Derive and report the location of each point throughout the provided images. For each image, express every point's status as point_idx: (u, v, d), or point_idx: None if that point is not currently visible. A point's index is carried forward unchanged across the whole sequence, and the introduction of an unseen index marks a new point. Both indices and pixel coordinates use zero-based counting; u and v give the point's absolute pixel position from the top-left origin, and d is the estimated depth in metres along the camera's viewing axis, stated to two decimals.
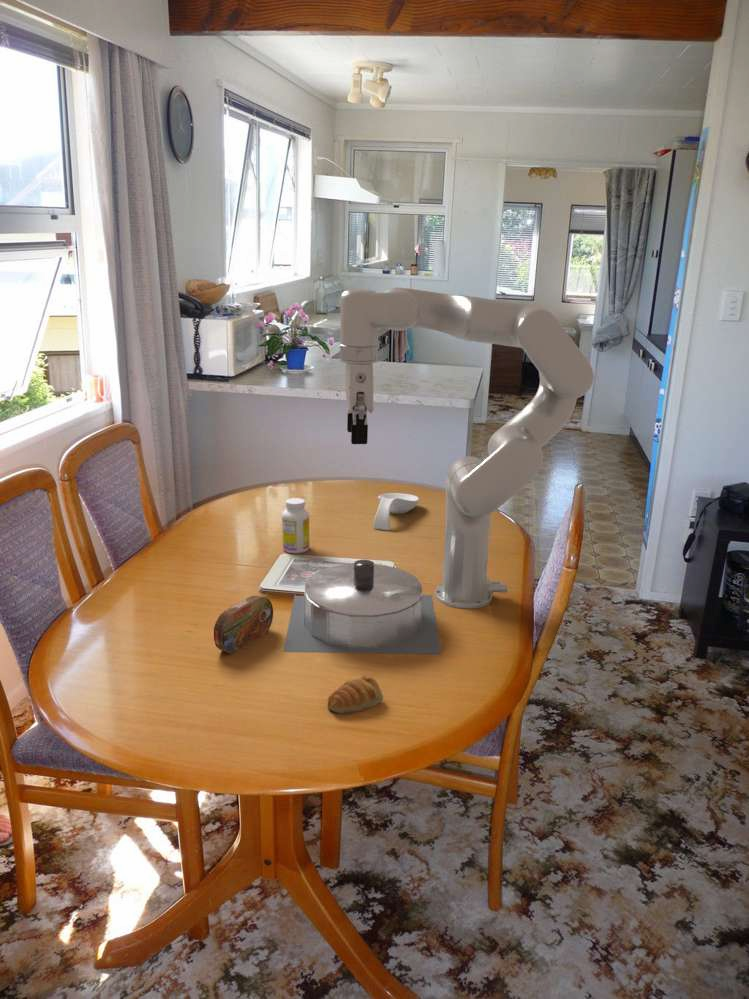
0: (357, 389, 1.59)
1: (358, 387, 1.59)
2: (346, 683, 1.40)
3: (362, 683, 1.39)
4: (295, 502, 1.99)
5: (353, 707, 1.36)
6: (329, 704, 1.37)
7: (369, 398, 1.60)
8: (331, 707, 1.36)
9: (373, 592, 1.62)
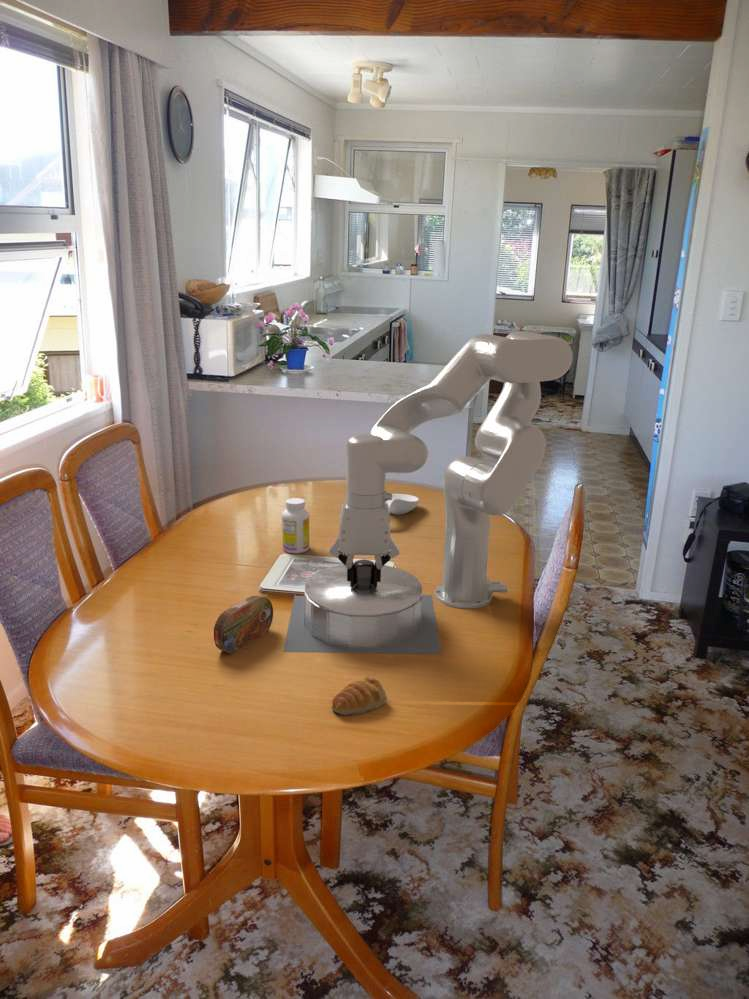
0: None
1: None
2: (350, 685, 1.40)
3: (366, 684, 1.39)
4: (295, 502, 1.99)
5: (358, 709, 1.36)
6: (334, 706, 1.36)
7: None
8: (336, 709, 1.36)
9: (373, 592, 1.62)
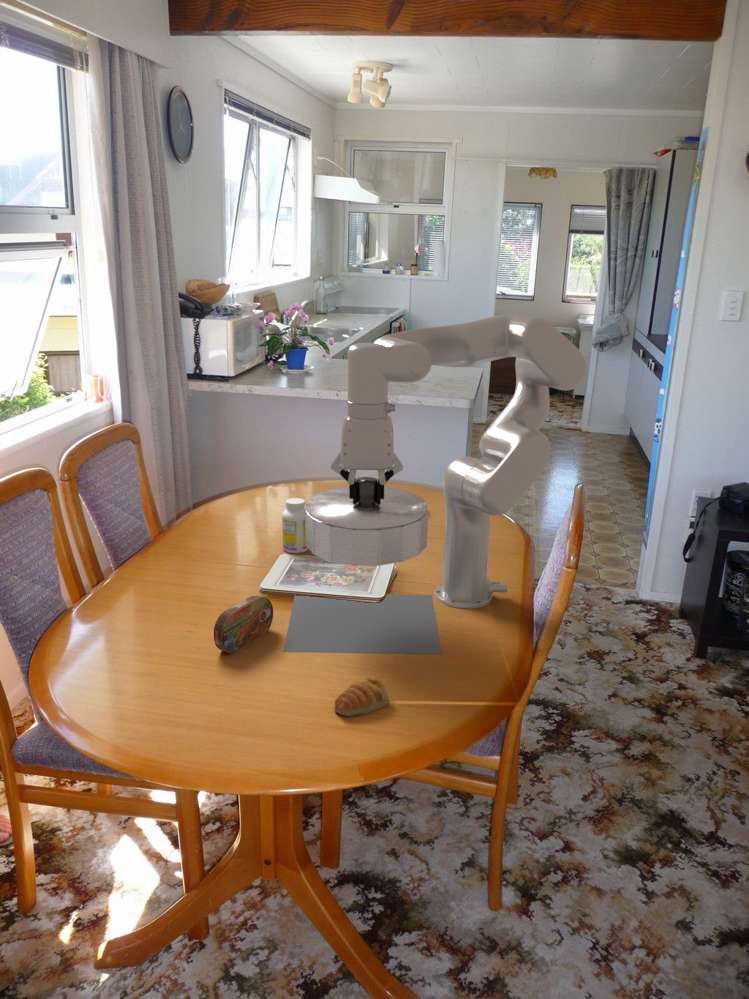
0: None
1: (393, 440, 1.55)
2: (352, 686, 1.39)
3: (368, 685, 1.38)
4: (295, 502, 1.99)
5: (360, 710, 1.35)
6: (336, 707, 1.36)
7: None
8: (338, 710, 1.35)
9: (377, 509, 1.57)
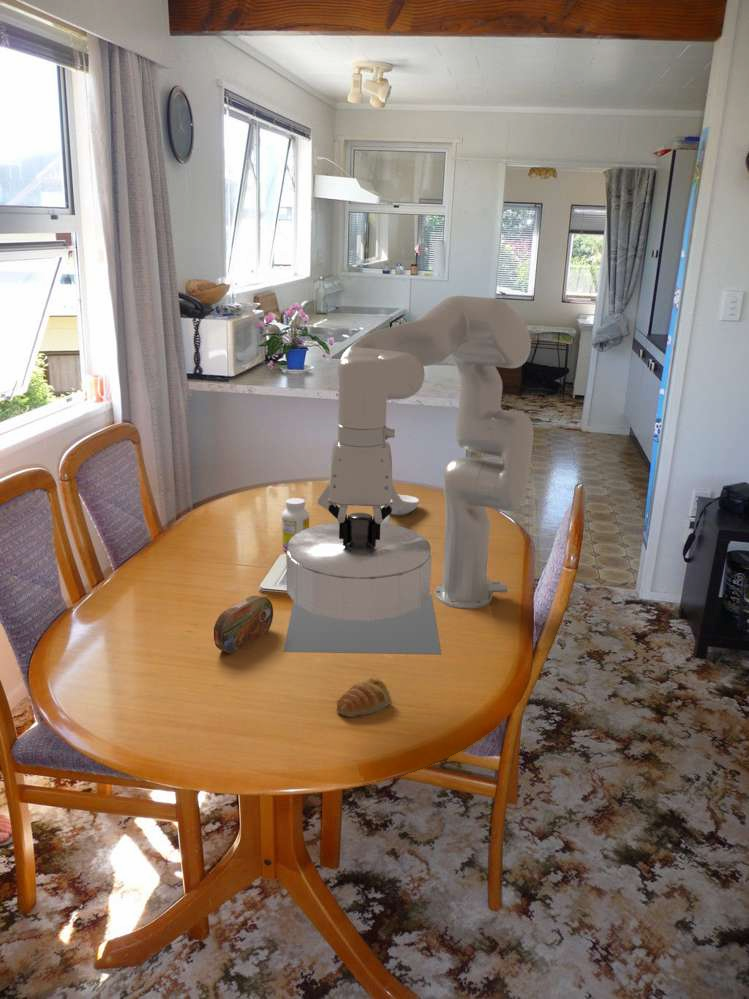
0: None
1: (391, 472, 1.31)
2: (354, 686, 1.39)
3: (370, 686, 1.38)
4: (295, 502, 1.99)
5: (363, 711, 1.35)
6: (338, 708, 1.36)
7: None
8: (341, 711, 1.35)
9: (371, 551, 1.33)
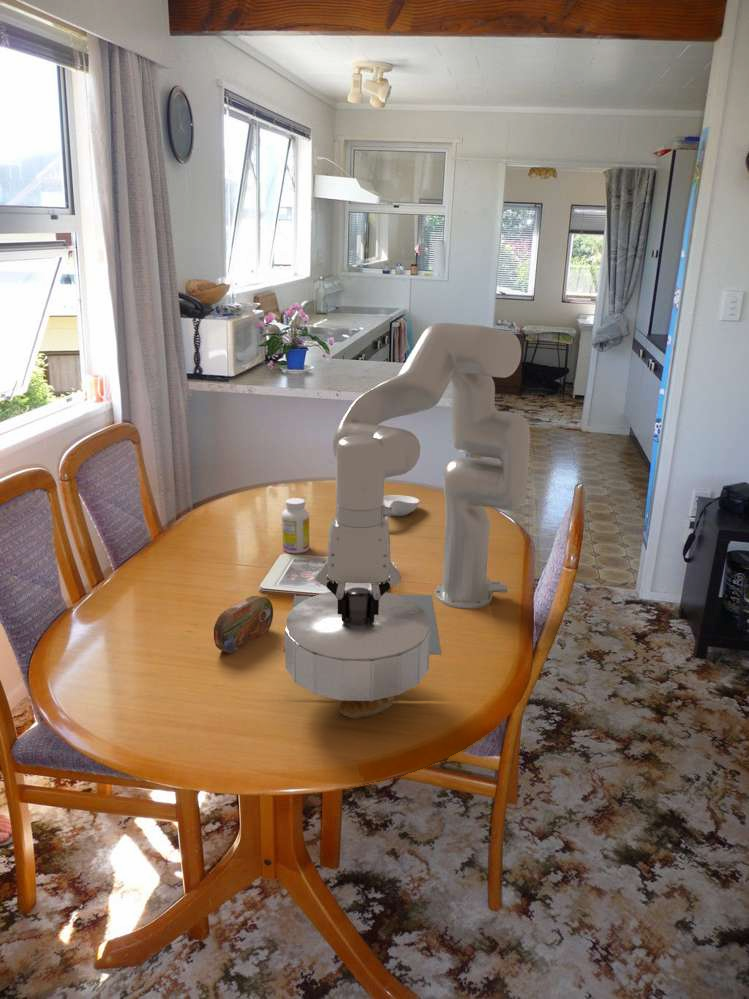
0: None
1: None
2: None
3: None
4: (295, 502, 1.99)
5: (366, 712, 1.35)
6: (342, 710, 1.35)
7: None
8: (344, 713, 1.35)
9: (370, 628, 1.32)
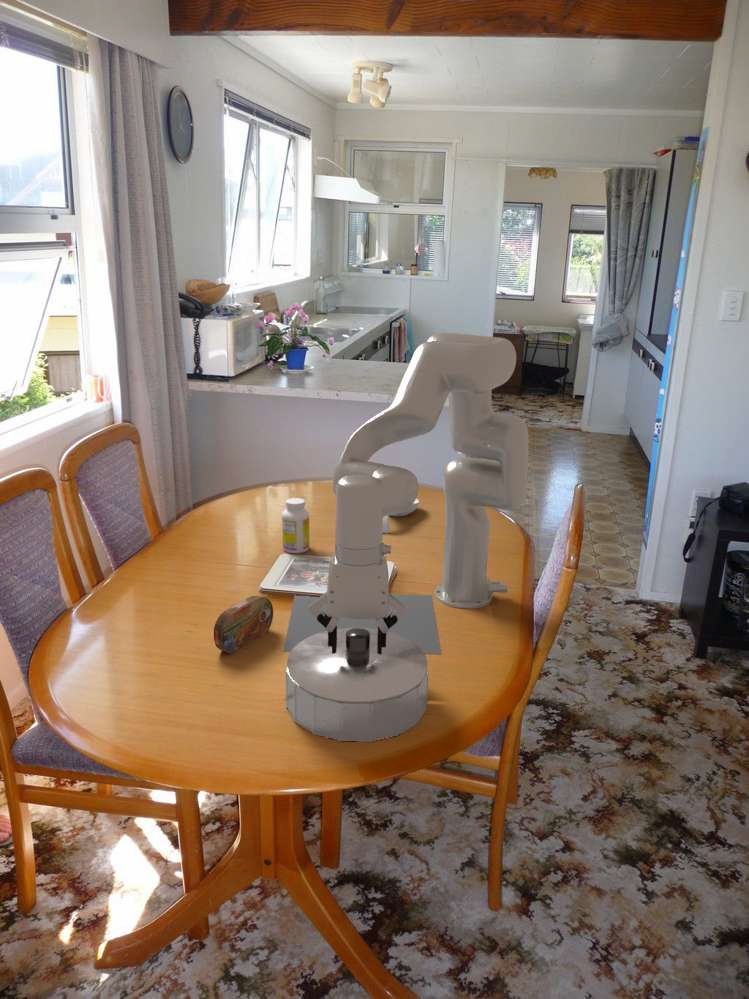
0: None
1: (388, 586, 1.32)
2: None
3: None
4: (295, 502, 1.99)
5: None
6: None
7: None
8: None
9: (369, 669, 1.35)
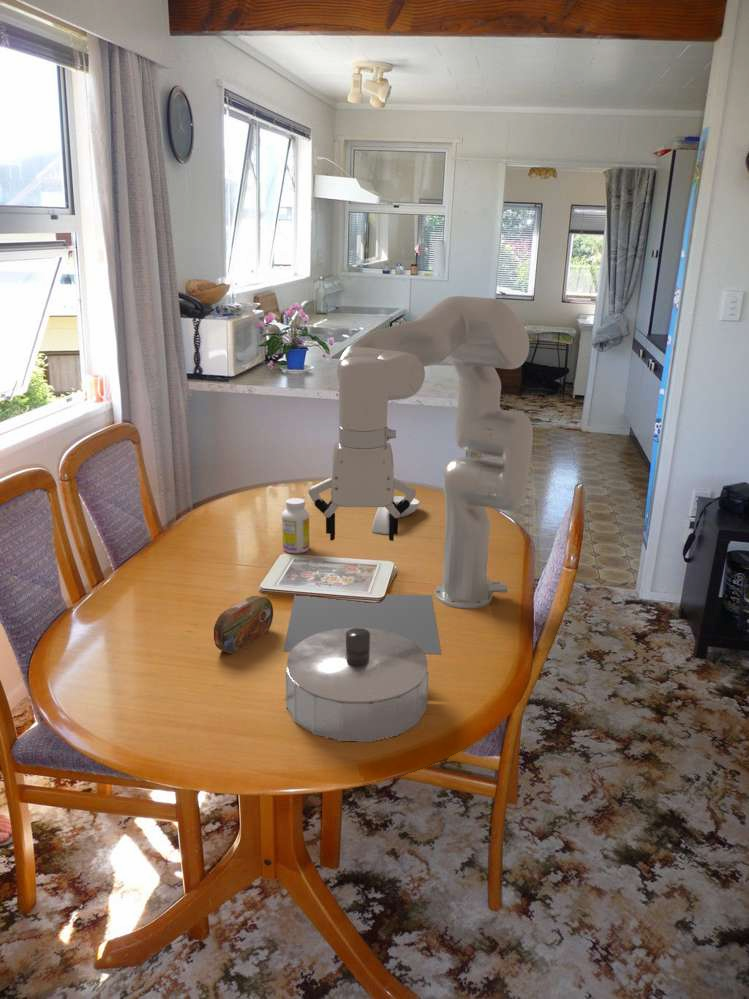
0: (393, 475, 1.30)
1: (393, 472, 1.30)
2: None
3: None
4: (295, 502, 1.99)
5: None
6: None
7: None
8: None
9: (369, 669, 1.35)
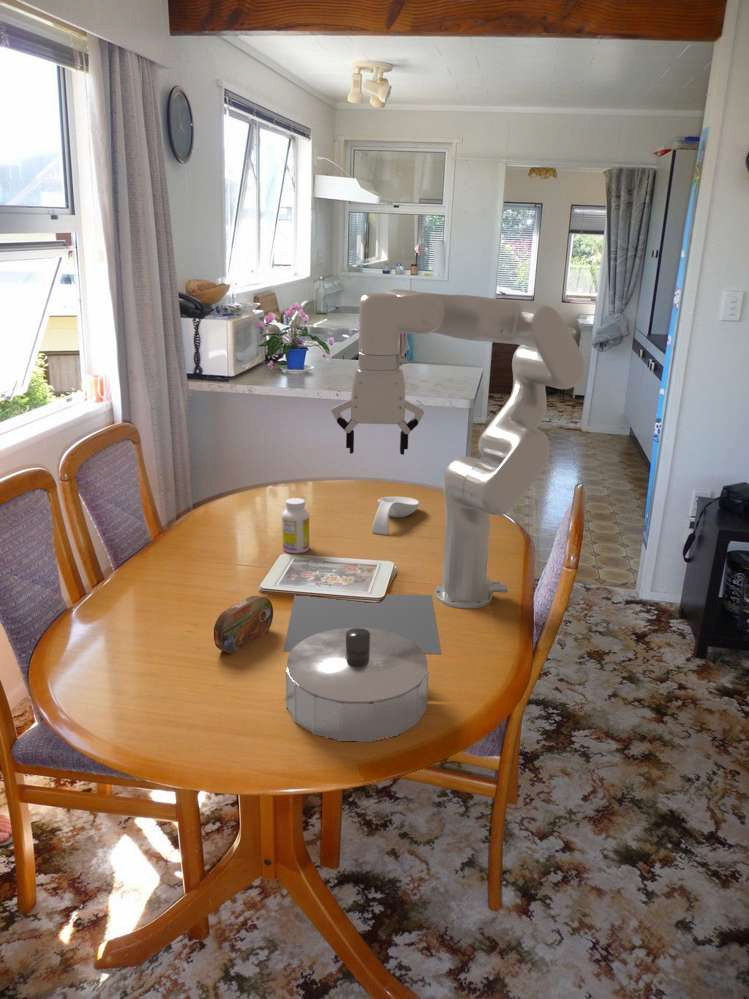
0: None
1: None
2: None
3: None
4: (295, 502, 1.99)
5: None
6: None
7: None
8: None
9: (369, 669, 1.35)
